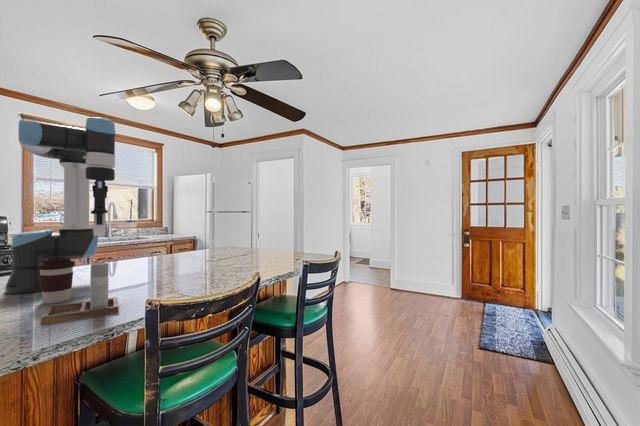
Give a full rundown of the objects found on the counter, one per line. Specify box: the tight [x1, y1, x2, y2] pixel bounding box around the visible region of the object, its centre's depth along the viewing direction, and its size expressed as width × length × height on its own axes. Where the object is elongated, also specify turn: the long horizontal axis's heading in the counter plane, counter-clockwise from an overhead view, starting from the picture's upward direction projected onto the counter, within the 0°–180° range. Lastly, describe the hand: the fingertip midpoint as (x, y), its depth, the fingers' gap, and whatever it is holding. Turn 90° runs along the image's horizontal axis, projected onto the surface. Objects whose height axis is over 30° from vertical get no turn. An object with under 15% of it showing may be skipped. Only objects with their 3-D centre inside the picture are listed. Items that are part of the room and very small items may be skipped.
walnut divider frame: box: [40, 296, 119, 326], centre depth 94 cm, size 12×18×2 cm, turn 125°
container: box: [89, 262, 109, 310], centre depth 96 cm, size 5×5×15 cm
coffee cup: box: [37, 257, 76, 305], centre depth 105 cm, size 10×10×15 cm
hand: (99, 234), depth 96 cm, fingers open, 13 cm apart
